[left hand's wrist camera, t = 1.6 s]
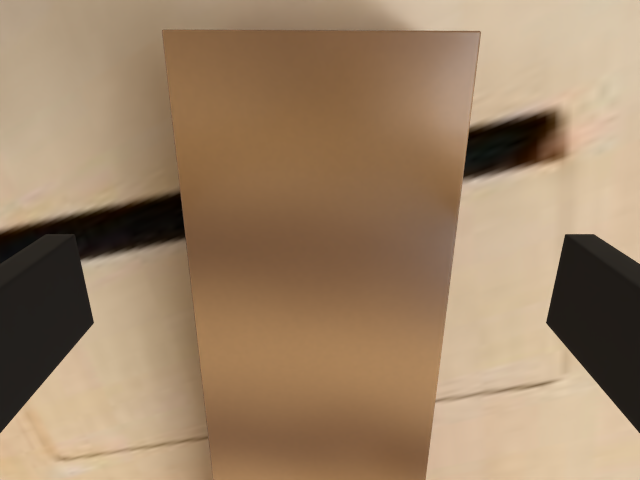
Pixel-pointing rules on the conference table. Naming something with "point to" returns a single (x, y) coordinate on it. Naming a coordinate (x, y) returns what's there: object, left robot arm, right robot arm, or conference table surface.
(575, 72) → the conference table surface
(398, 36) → the thick board
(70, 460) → the conference table surface
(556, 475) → the conference table surface
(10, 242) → the conference table surface
